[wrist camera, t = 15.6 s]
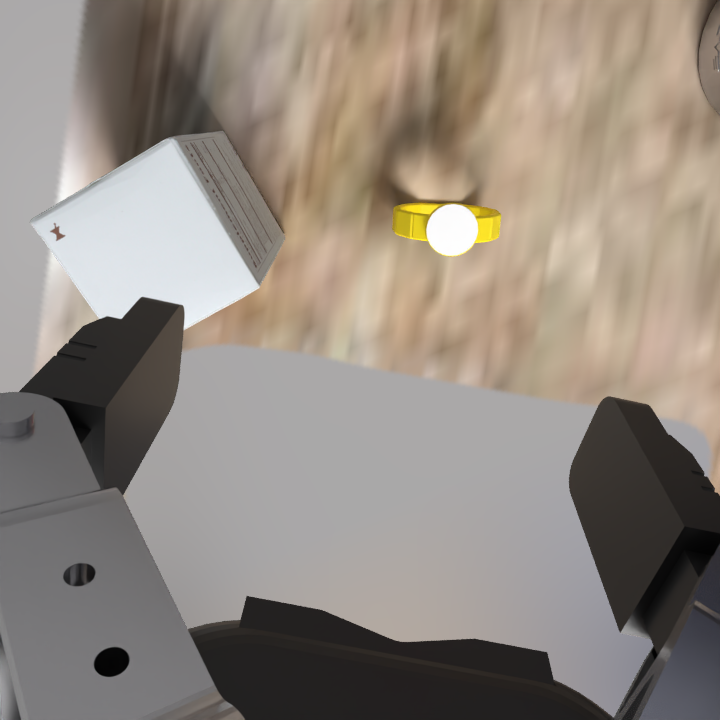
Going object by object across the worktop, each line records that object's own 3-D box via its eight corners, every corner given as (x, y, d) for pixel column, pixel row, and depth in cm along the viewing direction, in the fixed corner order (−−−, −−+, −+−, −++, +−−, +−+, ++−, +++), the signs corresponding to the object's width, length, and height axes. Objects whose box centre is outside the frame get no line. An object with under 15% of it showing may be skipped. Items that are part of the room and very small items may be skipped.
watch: (392, 235, 41) (390, 254, 35) (394, 189, 40) (393, 200, 34) (490, 239, 40) (503, 259, 35) (495, 193, 39) (509, 206, 34)
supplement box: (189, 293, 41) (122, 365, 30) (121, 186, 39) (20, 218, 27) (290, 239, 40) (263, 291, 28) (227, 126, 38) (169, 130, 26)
